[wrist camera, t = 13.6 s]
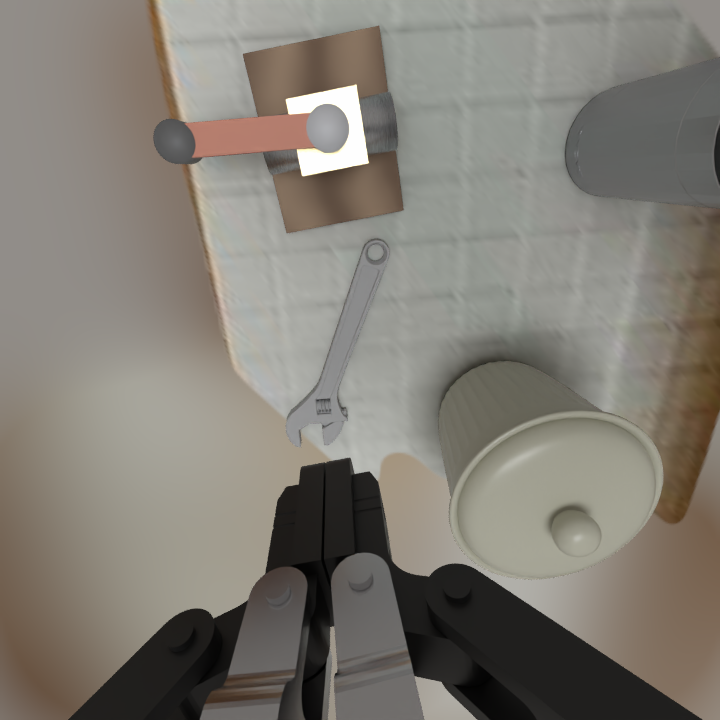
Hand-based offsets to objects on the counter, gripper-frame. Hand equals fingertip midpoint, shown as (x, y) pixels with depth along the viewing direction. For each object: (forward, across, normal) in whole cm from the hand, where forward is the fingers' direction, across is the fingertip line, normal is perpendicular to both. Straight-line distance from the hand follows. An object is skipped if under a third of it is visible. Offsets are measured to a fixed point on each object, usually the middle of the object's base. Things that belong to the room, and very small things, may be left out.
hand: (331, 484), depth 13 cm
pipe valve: (+31, -2, -11) cm, 33 cm away
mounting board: (+33, -2, -11) cm, 35 cm away
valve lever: (+24, +3, -11) cm, 27 cm away
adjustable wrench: (+34, +1, +10) cm, 35 cm away
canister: (+33, -15, +20) cm, 42 cm away
